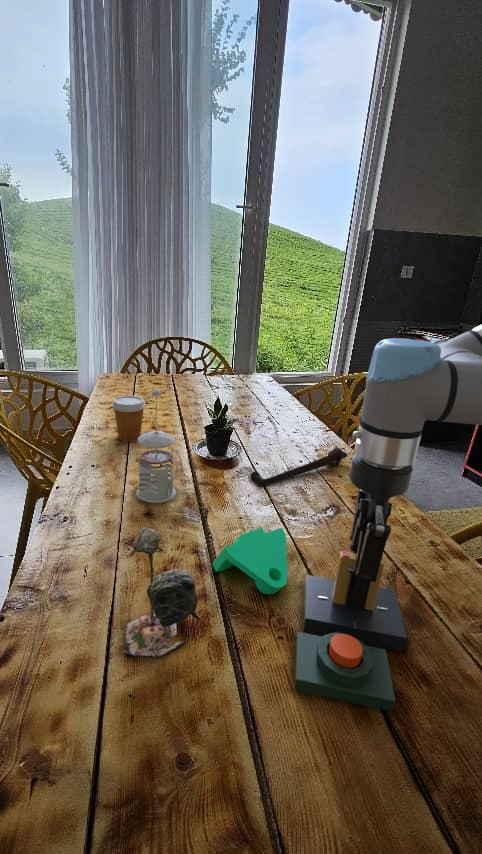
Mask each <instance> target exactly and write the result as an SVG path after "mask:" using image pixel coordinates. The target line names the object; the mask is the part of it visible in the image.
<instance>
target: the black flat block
mask: <svg viewBox="0 0 482 854" xmlns="http://www.w3.org/2000/svg"><path fill="white" fill-rule="evenodd" d="M334 583H335V578H334V579H333V578H329V577H322V576H316V575H310V574H305V579H304V585H303V613H302V615H303V621H302V633H306V634H311V635H316V636H321V637H323V636H324V635H327V634H331V633H335V632H338V633H343V634H348V635H351V636H353V637H354V638H356V639H358V640H359V641H361V642H363V643H364V645H366V646H371V647H376V648H381V649H385V650H392V651H397V652H402V653H403V652H404V650H405V648H406V643H407V639H408V636H407V632H406V628H405V624H404V620H403V616H402V613H401V612H402V611H401V609H400V608H401V607H400V605H399V601H398V597H397V594H396V590H395V589H390V588H385V587H379V589H378V593H377V598H376V602H375V606H374V610H368V609H364V610H360V609H354V608H349V607H345V605H341V604H336V603H332V593H333V588H334Z"/></svg>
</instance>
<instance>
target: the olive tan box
mask: <svg viewBox="0 0 482 854" xmlns="http://www.w3.org/2000/svg"><path fill="white" fill-rule="evenodd" d="M356 555H357V554H356V553H353V552H350V550H349V551H348V550H344V549H343V550H340V552H339V556H338V563H337V566H336V572H335V578H334V580H335V583H334V588H333V593H332V603H336V604H341V605H345V600H346V595H347V590H348V585H349V581H350V576H351V574H349V567H352V568H354V567H355V561H356ZM384 568H385V562H384V558H383V557H382V560H381V563H380V567H379V571H378V575H377V580H376V582H371V583H370V587H369V591H368V596H367V600H366V605H365V609H368V610H374V606H375V602H376V598H377V593H378V589H379V588H380V585H381V580H382V576H383V572H384Z"/></svg>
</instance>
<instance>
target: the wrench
mask: <svg viewBox="0 0 482 854" xmlns="http://www.w3.org/2000/svg"><path fill="white" fill-rule="evenodd" d="M347 457H348V453H347V452H345V451H343V450H342V449H341V448H340V447H337V446H336V447H334V448H333V449H332V450H331V451H329V452H328V453H327V455H326V456H323V457H320V458H318V459H316V460H313V461H310V462H307V463H305V464H303V465H300V466H297V467H295V468H292V469H289V470H287V471H284V472H281V473H279V474H276V475H273V476H271V477H267V478H263V477H261V474H260V472H259V471H256V470H253V471H252V472H251V473H250V479H251V480H252V481H254V482H255V483H257V484H258V485H259V486H262V487H263V486H266V485H270V484H274V483H276V482H280V481H284V480H286V479H290V478H293V477H296V476H299V475H302V474H305V473H308V472H312V471H314V470H317V469H320V468H323V467H325V466H329V467H335V466H338V465H339V464H340V463H341V461H342V460H343V459H345V458H347Z"/></svg>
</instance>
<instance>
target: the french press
mask: <svg viewBox="0 0 482 854" xmlns="http://www.w3.org/2000/svg"><path fill="white" fill-rule="evenodd" d="M151 396H153V397H155V430H152V431H147V432H145V433H143V434H140V437H139V438H138V440H137V442H138V443H139V445H141V446H142V447H145V448H148V449H149V450H146V451H144V452H142V453H141V454H140V456H139V458H140V460H139V462H138V489H137V490H136V493H135V495H136V496H137V498H138V499H140V500H142V501H143V502H146V503H154V504H155V503H156V504H158V503H166V502H168V501H170V500H173V498H174V497H175V496H176V494H177V493H176V492H177V491H176V490H175V488H174V481H175V480H176V479H178V478H180V477H181V475H182V473H183V460H182V457H181V455H180V453H179V452H178V451H177V450H176V449H174V448H171V451H170V450H169V451H168V450H162V449H165V448H168V447H170V446H172V445H173V444H174V442H175V437H174V436H173V435H172V434H169V433H167V432H165V431H162V430H158V413H157V412H158V397H162V392H161V391H160V389H154V390H153V391H152V392H151ZM174 452H175V453H176V455H177V457H178V459H179V461H180V472H179V474H178V463H177V461H176V458H175V456H174V454H173V453H174ZM174 462H175V470H176V471H175V475H174ZM154 465H155V466H154ZM177 475H178V476H177Z"/></svg>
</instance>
